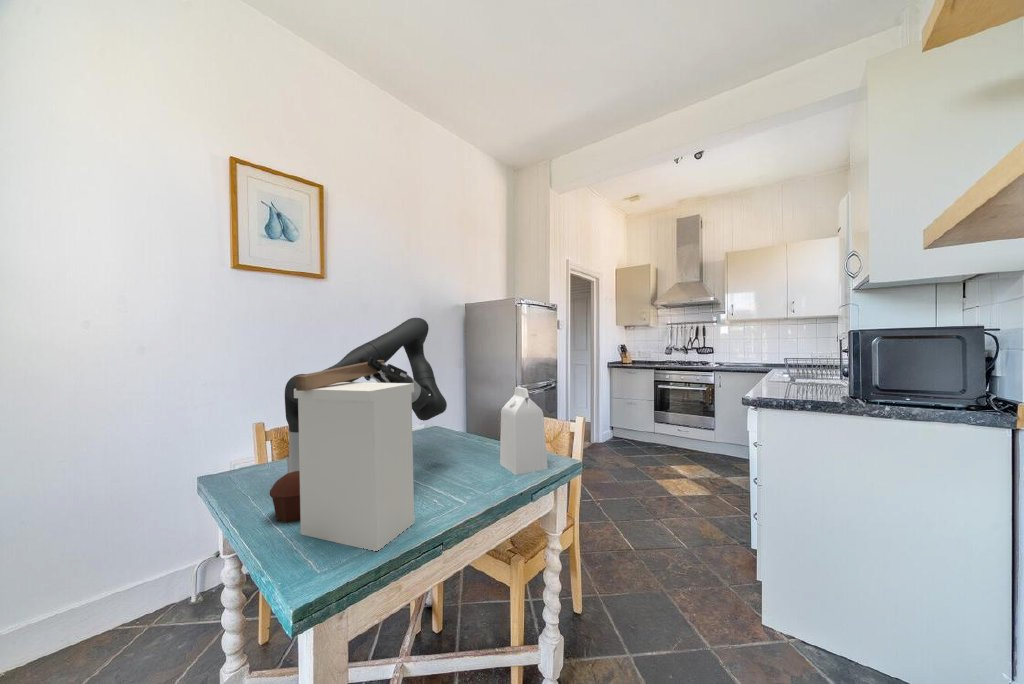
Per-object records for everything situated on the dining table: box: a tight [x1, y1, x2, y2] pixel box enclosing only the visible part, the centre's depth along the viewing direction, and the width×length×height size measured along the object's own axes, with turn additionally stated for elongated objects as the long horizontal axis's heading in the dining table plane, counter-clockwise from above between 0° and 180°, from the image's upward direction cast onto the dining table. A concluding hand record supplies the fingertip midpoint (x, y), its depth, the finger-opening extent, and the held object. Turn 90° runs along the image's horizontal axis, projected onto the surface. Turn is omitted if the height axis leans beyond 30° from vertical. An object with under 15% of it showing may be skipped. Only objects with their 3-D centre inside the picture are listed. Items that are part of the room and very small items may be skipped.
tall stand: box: [294, 381, 415, 552], centre depth 81 cm, size 21×14×32 cm, turn 69°
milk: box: [499, 386, 549, 476], centre depth 120 cm, size 12×12×26 cm
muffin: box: [269, 471, 301, 523], centre depth 89 cm, size 12×11×10 cm
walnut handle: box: [294, 360, 384, 391], centre depth 87 cm, size 3×24×3 cm, turn 159°
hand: (364, 360), depth 92 cm, fingers closed on walnut handle, 3 cm apart
